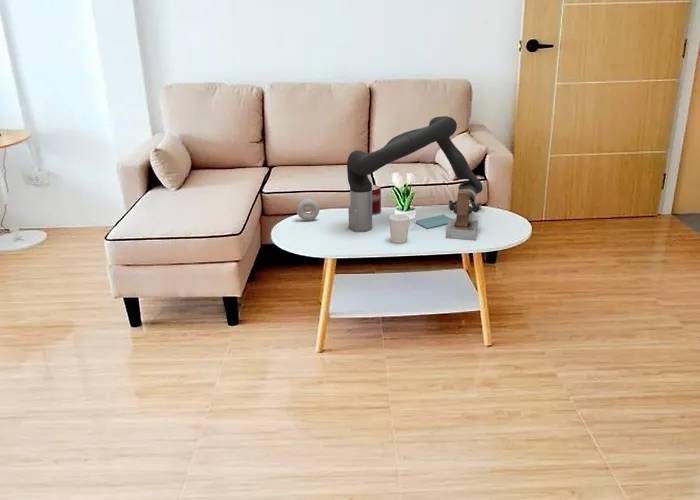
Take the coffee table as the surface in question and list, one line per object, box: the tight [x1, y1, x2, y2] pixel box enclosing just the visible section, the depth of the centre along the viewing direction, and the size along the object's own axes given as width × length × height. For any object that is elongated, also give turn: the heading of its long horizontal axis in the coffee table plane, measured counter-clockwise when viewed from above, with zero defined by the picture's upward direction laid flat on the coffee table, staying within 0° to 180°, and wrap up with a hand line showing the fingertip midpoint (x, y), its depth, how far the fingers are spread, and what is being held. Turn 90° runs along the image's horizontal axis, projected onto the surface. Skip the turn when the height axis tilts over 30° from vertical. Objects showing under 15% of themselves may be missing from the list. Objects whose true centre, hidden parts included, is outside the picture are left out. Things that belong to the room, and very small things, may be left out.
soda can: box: [372, 184, 382, 215], centre depth 284 cm, size 7×7×12 cm
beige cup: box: [388, 213, 410, 244], centre depth 253 cm, size 8×8×10 cm
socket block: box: [445, 218, 479, 241], centre depth 259 cm, size 12×12×4 cm
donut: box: [296, 198, 320, 222], centre depth 276 cm, size 10×4×10 cm, turn 98°
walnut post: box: [455, 188, 470, 228], centre depth 256 cm, size 5×5×18 cm
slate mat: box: [415, 214, 453, 230], centre depth 273 cm, size 16×10×1 cm, turn 119°
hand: (462, 212), depth 253 cm, fingers closed on walnut post, 4 cm apart
